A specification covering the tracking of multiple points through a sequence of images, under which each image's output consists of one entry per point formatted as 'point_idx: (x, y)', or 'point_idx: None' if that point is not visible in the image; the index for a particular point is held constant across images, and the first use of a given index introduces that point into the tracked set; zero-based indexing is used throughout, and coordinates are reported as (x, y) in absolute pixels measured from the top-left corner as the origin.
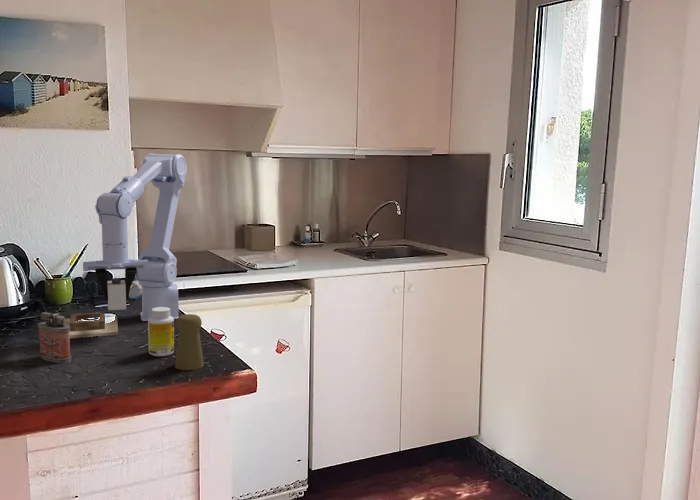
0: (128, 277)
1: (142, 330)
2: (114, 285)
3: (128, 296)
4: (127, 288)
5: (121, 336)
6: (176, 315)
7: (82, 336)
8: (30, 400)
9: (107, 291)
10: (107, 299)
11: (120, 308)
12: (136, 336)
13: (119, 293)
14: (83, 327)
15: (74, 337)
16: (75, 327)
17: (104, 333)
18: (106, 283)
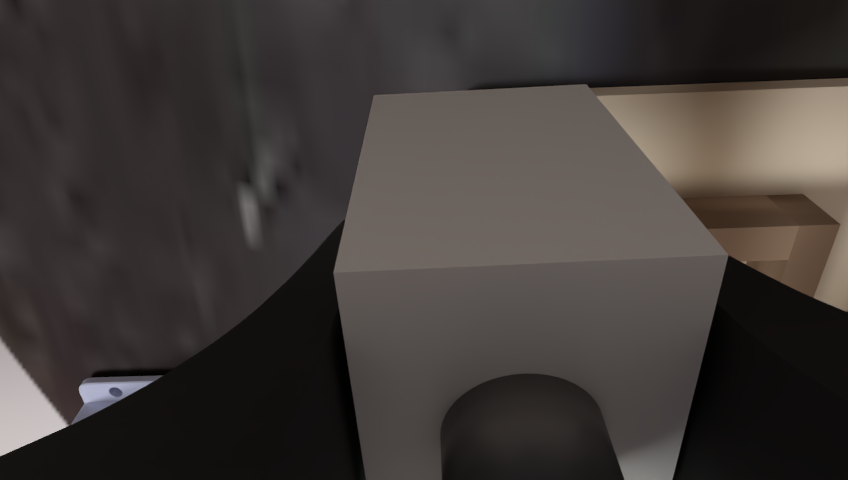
0: (223, 420)
1: (287, 184)
2: (575, 258)
3: (330, 235)
4: (319, 287)
5: (434, 54)
6: (92, 408)
7: (726, 86)
8: None
9: None
10: None
11: (442, 95)
12: (315, 27)
13: (460, 181)
14: (714, 208)
15: (784, 82)
16: (775, 206)
17: None
18: (755, 327)
